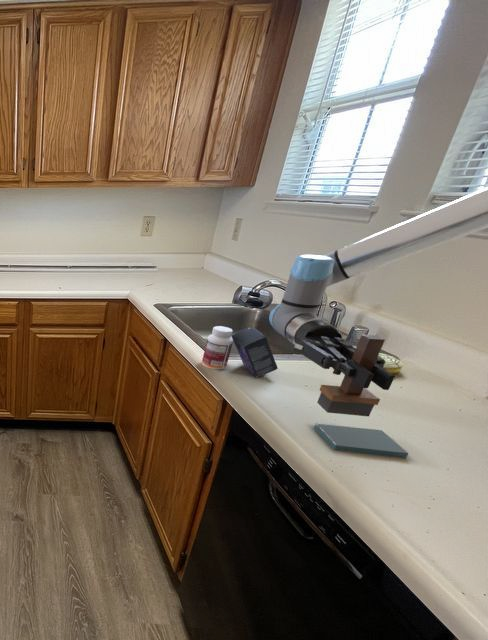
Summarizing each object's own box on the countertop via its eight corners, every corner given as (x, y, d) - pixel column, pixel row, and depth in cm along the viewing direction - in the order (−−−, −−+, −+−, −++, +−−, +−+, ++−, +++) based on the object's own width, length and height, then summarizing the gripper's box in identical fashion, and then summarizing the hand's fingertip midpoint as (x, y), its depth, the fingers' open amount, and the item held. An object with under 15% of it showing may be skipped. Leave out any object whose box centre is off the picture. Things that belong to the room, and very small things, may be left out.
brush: (357, 405, 82) (389, 334, 76) (371, 417, 78) (406, 343, 72) (314, 401, 84) (342, 331, 77) (326, 413, 79) (356, 339, 73)
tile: (378, 436, 85) (381, 430, 85) (405, 459, 78) (408, 453, 78) (313, 429, 88) (315, 423, 87) (333, 451, 81) (336, 445, 80)
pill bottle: (212, 360, 120) (222, 324, 115) (230, 368, 115) (241, 331, 110) (196, 363, 118) (205, 326, 113) (213, 372, 113) (224, 333, 108)
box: (243, 366, 116) (230, 334, 113) (264, 357, 114) (251, 324, 111) (256, 378, 109) (242, 345, 106) (279, 369, 107) (265, 335, 104)
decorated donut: (343, 358, 122) (348, 346, 120) (390, 365, 118) (395, 352, 116) (353, 372, 113) (358, 359, 112) (404, 379, 109) (410, 366, 107)
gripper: (346, 354, 93) (421, 405, 72) (269, 348, 96) (321, 396, 75) (359, 322, 90) (441, 366, 69) (279, 317, 93) (336, 358, 72)
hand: (378, 382), depth 72 cm, fingers closed on brush, 2 cm apart
